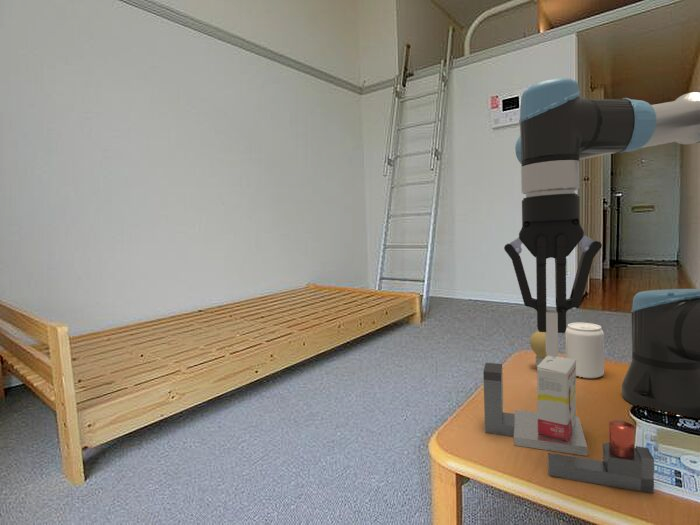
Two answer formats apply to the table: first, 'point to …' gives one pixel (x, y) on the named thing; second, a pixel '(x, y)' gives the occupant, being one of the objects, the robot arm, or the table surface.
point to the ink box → (556, 396)
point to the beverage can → (586, 348)
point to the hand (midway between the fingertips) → (551, 353)
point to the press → (522, 420)
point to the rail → (602, 471)
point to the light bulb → (538, 346)
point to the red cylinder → (621, 450)
